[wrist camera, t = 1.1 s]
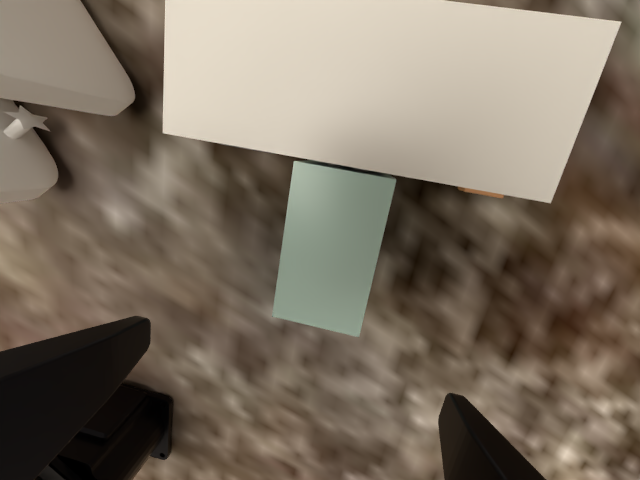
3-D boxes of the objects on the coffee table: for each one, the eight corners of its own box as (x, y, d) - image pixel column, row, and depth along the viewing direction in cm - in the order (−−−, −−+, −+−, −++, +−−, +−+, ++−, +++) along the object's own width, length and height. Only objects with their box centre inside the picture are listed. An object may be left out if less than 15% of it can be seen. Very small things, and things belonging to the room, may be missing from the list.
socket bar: (488, 191, 17) (549, 208, 12) (225, 144, 19) (162, 137, 13) (527, 72, 16) (621, 21, 10) (233, 31, 17) (165, -34, 11)
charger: (361, 294, 20) (359, 337, 15) (294, 279, 20) (272, 316, 15) (399, 127, 17) (411, 114, 12) (320, 114, 17) (302, 97, 12)
